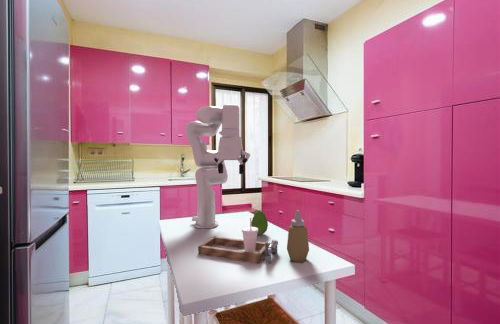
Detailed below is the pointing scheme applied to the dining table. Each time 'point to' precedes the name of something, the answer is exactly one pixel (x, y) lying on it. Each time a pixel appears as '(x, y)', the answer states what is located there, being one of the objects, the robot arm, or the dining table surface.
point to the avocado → (260, 222)
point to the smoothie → (250, 238)
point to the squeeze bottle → (297, 239)
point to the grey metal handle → (270, 250)
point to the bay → (232, 254)
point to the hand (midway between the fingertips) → (231, 173)
